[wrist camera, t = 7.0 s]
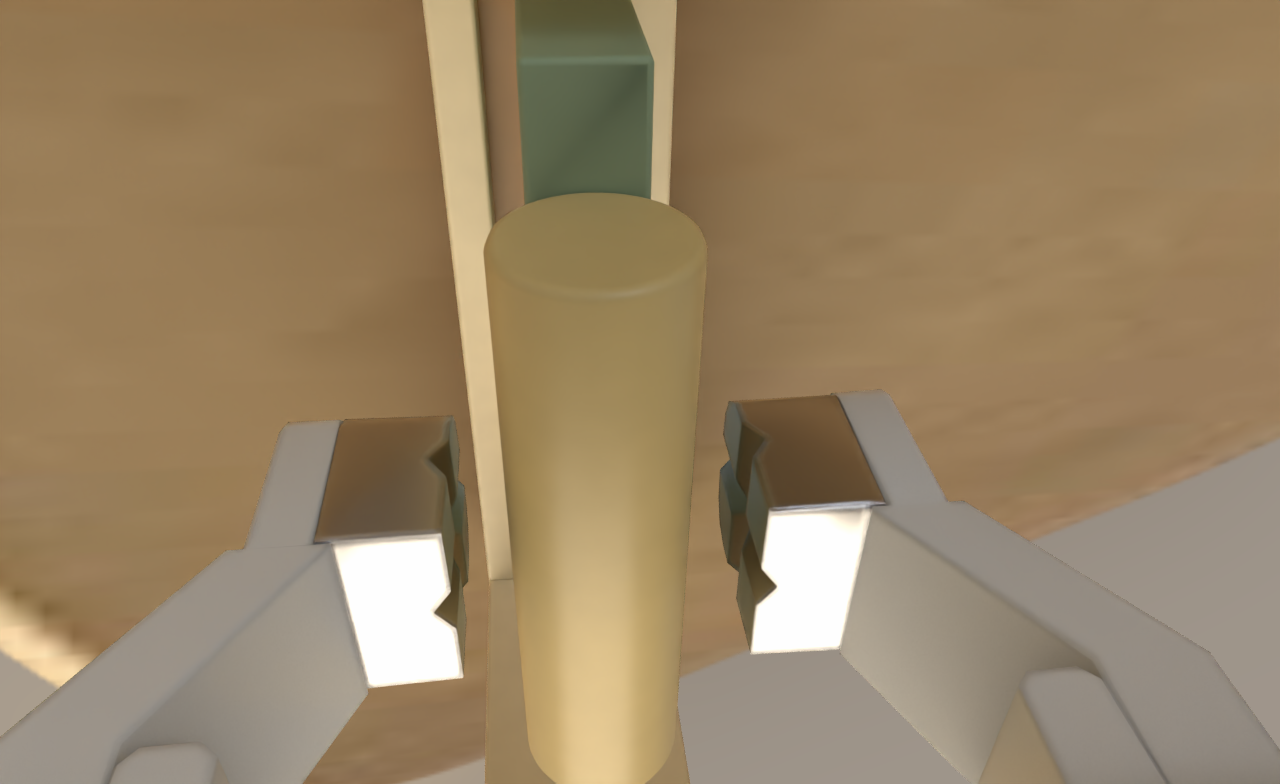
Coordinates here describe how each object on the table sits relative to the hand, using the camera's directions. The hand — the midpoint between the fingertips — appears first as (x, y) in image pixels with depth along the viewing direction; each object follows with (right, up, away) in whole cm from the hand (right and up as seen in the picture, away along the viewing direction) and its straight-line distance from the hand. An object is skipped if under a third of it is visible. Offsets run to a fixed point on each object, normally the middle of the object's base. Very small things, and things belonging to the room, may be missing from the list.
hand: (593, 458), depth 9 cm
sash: (-1, +5, +7) cm, 9 cm away
